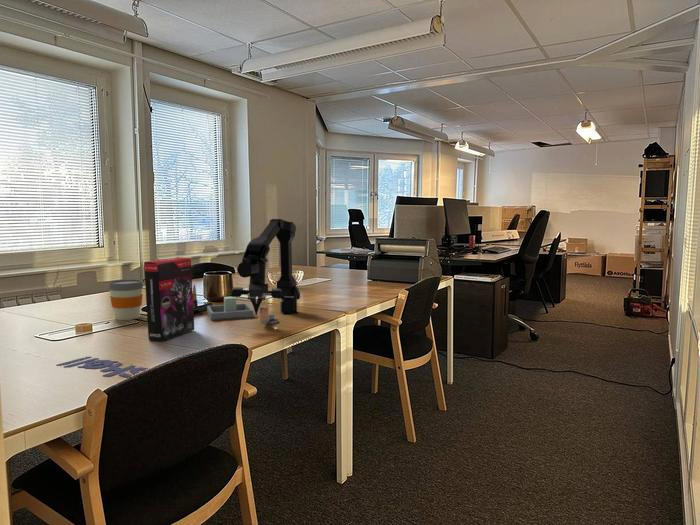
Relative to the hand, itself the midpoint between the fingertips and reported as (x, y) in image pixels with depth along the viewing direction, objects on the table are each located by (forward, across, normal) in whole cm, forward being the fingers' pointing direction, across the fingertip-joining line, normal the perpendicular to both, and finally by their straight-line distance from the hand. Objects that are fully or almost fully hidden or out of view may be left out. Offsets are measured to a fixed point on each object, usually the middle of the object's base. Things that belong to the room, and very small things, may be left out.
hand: (256, 314), depth 183 cm
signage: (+7, -39, -43) cm, 59 cm away
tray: (+5, -12, +22) cm, 26 cm away
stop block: (+5, -12, +22) cm, 25 cm away
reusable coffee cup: (+7, -53, +21) cm, 57 cm away
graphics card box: (+6, -29, -9) cm, 31 cm away
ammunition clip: (+6, -31, +28) cm, 43 cm away
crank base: (+5, +6, +3) cm, 8 cm away
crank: (+4, +4, +4) cm, 7 cm away
